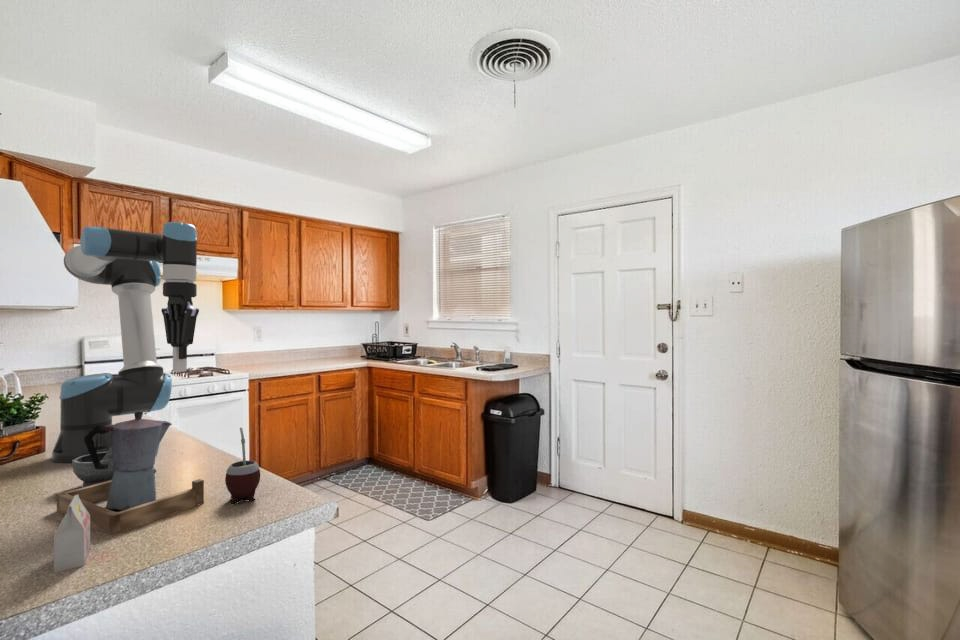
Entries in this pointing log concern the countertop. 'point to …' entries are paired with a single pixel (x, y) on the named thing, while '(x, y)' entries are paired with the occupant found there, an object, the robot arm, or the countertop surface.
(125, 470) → the moka pot
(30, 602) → the countertop surface
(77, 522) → the white paper packet
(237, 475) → the mate gourd
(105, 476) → the mortar and pestle
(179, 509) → the bay
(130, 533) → the countertop surface
